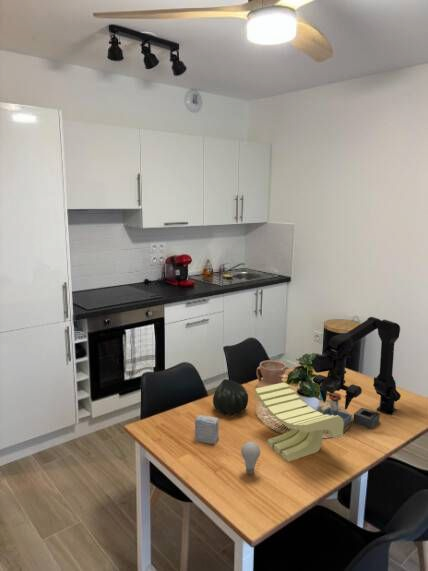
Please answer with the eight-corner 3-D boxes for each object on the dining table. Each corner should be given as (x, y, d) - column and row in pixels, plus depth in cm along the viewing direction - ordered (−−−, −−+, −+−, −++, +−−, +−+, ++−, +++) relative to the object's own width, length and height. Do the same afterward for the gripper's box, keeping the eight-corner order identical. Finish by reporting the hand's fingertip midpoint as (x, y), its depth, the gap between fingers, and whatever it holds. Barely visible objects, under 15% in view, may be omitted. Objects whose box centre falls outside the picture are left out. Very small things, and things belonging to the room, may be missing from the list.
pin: (331, 416, 175) (332, 391, 173) (341, 420, 172) (342, 394, 170) (326, 421, 172) (327, 395, 170) (336, 424, 169) (337, 398, 167)
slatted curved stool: (340, 462, 145) (344, 414, 142) (303, 475, 138) (306, 424, 134) (287, 422, 171) (289, 381, 168) (253, 431, 164) (255, 388, 161)
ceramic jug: (296, 395, 195) (297, 366, 193) (274, 404, 186) (275, 373, 184) (268, 383, 209) (269, 356, 207) (246, 391, 200) (247, 362, 198)
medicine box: (218, 439, 158) (219, 417, 157) (214, 445, 154) (215, 423, 153) (199, 435, 161) (199, 414, 159) (194, 441, 157) (194, 419, 155)
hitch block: (360, 416, 177) (361, 407, 176) (379, 422, 172) (379, 413, 171) (353, 422, 171) (353, 413, 171) (371, 429, 166) (372, 420, 166)
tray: (328, 413, 179) (328, 406, 178) (351, 421, 172) (351, 414, 172) (316, 422, 171) (316, 415, 171) (339, 431, 165) (340, 424, 164)
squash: (259, 403, 175) (243, 370, 181) (231, 415, 167) (215, 380, 172) (243, 414, 186) (228, 383, 191) (215, 426, 177) (201, 392, 182)
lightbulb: (239, 468, 141) (240, 438, 139) (257, 467, 141) (258, 437, 139) (242, 480, 135) (242, 448, 133) (261, 479, 135) (262, 447, 133)
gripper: (306, 368, 168) (304, 404, 171) (350, 381, 156) (348, 420, 158) (319, 360, 176) (317, 396, 179) (363, 372, 164) (360, 410, 167)
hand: (335, 405), depth 170 cm, fingers open, 9 cm apart
